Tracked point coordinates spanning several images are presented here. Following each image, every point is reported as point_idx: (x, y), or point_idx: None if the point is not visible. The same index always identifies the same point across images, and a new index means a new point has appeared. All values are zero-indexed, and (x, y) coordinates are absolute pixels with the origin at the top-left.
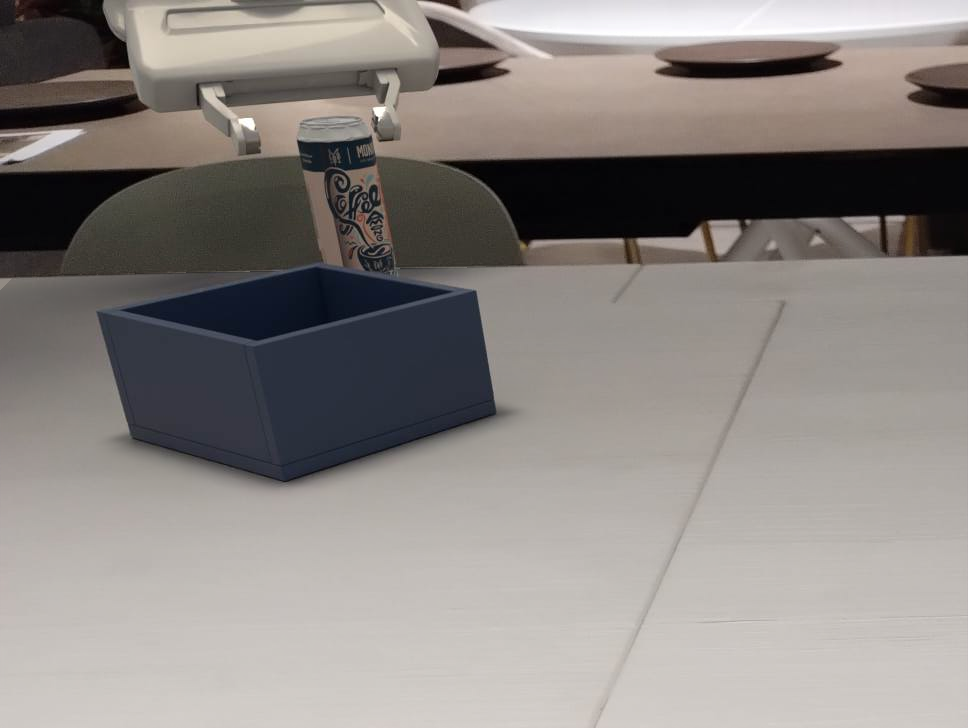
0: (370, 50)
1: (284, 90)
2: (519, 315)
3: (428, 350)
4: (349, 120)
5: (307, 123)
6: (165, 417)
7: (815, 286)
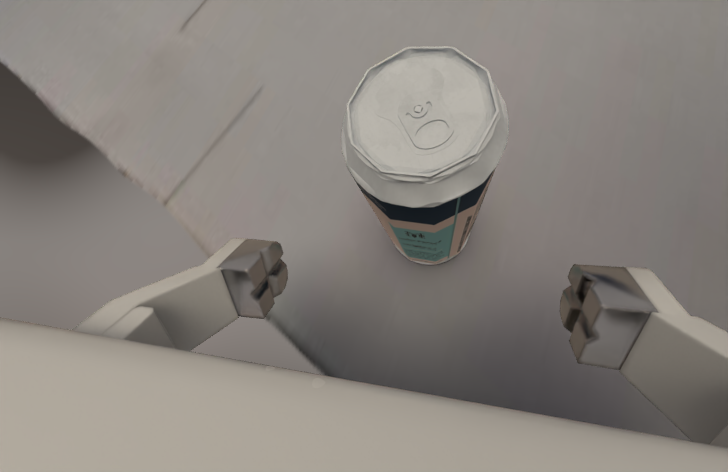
0: (24, 373)
1: None
2: (338, 90)
3: None
4: (375, 109)
5: (475, 123)
6: None
7: (139, 56)
